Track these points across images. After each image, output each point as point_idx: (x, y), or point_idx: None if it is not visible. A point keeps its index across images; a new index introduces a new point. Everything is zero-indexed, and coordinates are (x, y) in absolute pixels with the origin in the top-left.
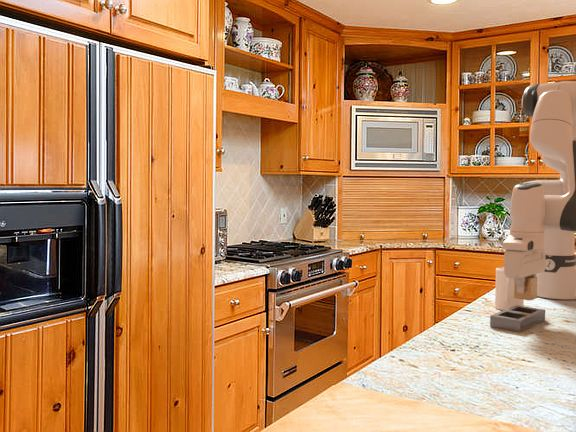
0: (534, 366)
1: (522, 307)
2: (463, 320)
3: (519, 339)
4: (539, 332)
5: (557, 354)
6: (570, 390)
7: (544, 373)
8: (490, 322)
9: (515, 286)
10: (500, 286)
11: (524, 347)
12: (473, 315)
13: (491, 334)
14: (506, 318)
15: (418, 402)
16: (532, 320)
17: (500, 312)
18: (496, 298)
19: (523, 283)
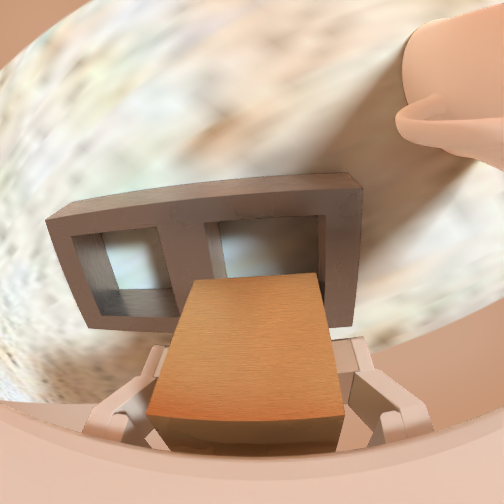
0: (11, 370)
1: (326, 237)
2: (62, 77)
3: (62, 322)
4: (161, 338)
5: (70, 389)
6: (14, 400)
7: (12, 381)
8: (62, 209)
9: (174, 348)
10: (482, 43)
11: (40, 344)
12: (168, 30)
13: (27, 254)
14: (68, 283)
15: None
16: None
17: (117, 216)
18: (441, 26)
19: (140, 428)
